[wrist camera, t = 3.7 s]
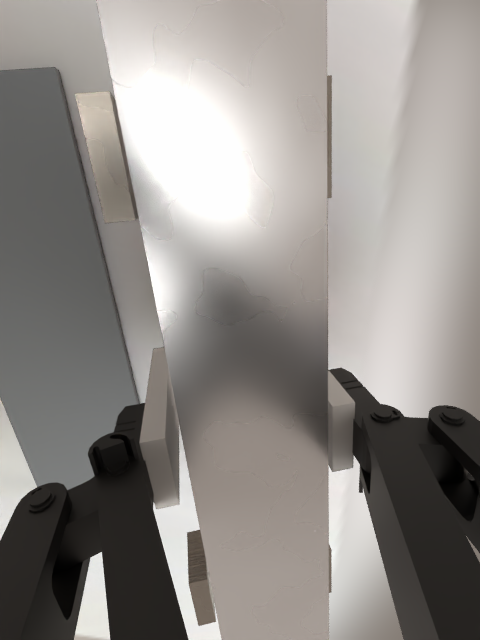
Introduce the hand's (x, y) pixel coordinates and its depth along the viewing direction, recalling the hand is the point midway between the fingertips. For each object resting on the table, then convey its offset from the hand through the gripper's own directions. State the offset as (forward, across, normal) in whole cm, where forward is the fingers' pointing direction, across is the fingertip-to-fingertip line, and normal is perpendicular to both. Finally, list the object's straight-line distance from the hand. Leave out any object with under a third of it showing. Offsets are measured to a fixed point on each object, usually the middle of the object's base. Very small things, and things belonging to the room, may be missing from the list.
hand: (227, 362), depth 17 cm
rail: (-3, 0, 0) cm, 3 cm away
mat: (+6, -10, 0) cm, 12 cm away
